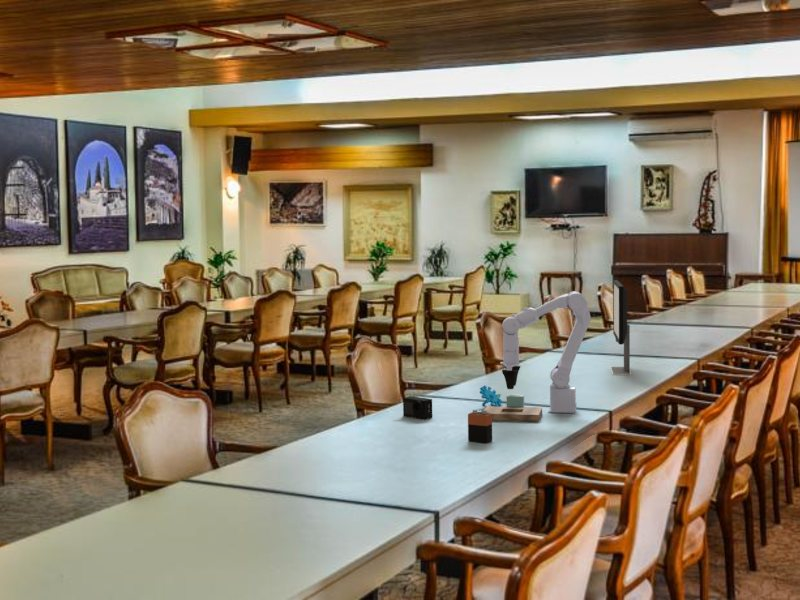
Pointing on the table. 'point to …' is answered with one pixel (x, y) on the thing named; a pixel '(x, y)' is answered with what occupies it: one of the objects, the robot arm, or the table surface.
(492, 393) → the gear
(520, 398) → the teal striped block
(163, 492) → the table surface
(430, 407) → the digital camera
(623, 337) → the computer monitor
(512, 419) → the keyed socket
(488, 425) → the battery
